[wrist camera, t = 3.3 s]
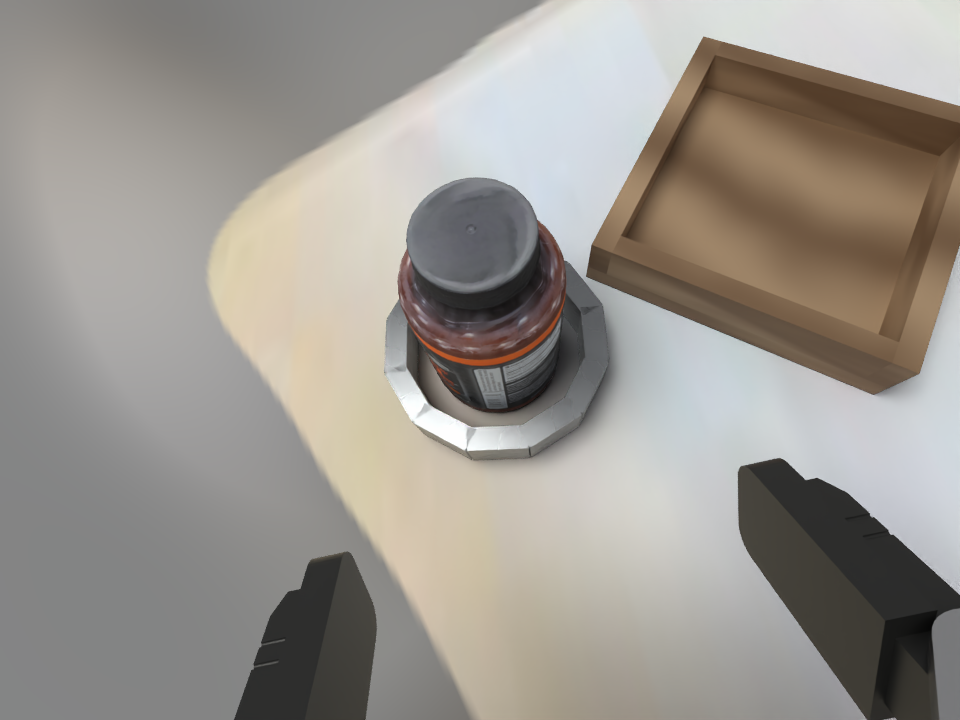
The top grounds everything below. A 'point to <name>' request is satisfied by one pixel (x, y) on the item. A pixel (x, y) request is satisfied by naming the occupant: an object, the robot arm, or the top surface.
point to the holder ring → (515, 438)
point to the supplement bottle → (484, 292)
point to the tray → (793, 213)
